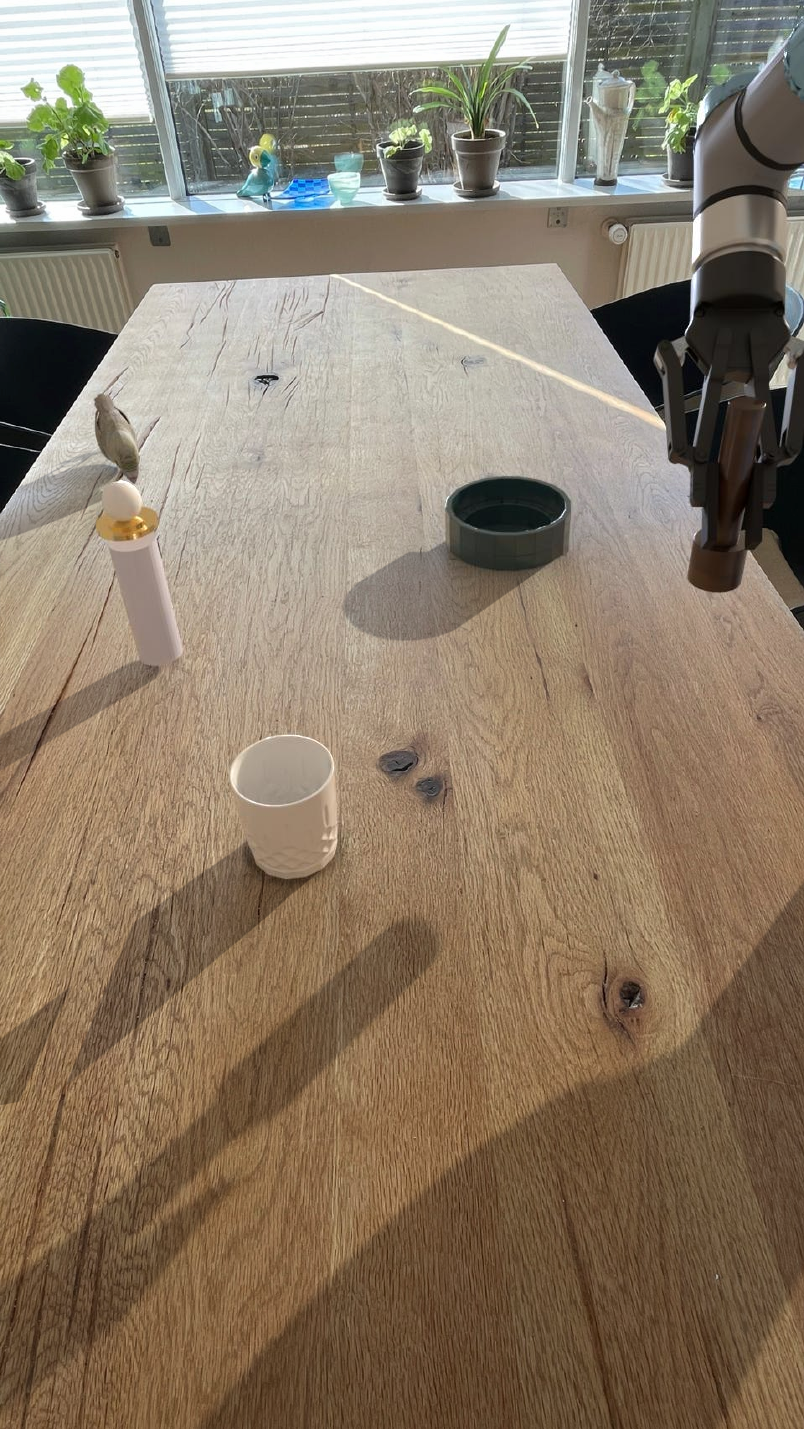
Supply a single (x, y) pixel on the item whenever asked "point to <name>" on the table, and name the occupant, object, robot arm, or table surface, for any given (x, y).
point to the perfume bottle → (140, 573)
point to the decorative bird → (116, 437)
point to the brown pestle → (730, 500)
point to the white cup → (287, 804)
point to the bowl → (508, 523)
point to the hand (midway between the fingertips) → (731, 544)
